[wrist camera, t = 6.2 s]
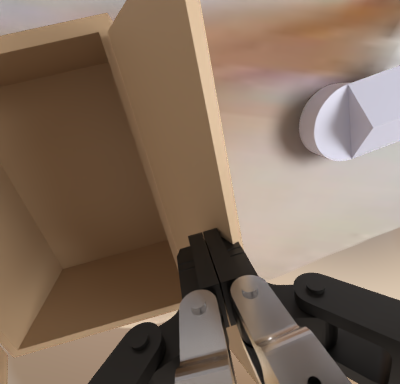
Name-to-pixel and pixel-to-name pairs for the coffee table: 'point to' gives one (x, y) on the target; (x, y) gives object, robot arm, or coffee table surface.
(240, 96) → the coffee table surface
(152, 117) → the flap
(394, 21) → the coffee table surface
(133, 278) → the carton
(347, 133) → the wedge on round base
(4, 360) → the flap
